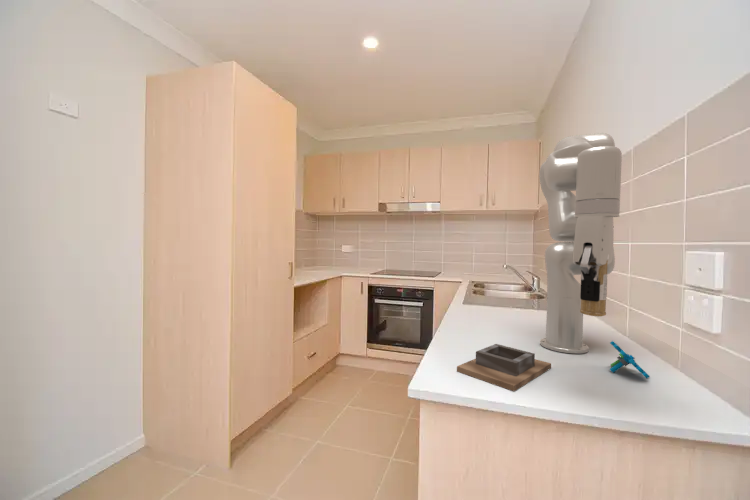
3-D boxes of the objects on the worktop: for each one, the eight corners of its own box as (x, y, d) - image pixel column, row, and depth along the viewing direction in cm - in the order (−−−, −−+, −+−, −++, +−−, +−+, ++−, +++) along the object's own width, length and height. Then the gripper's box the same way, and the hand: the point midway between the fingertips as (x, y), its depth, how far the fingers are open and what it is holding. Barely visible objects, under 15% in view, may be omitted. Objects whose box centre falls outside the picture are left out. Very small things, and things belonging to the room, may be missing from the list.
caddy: (497, 353, 92) (498, 338, 92) (550, 368, 82) (551, 351, 81) (456, 371, 79) (457, 353, 78) (514, 391, 68) (514, 371, 68)
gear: (657, 379, 72) (617, 341, 76) (633, 394, 73) (595, 356, 78) (646, 370, 81) (611, 336, 85) (625, 383, 83) (592, 350, 87)
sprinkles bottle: (576, 314, 68) (579, 249, 67) (584, 310, 71) (586, 248, 70) (603, 318, 64) (605, 250, 64) (609, 314, 67) (611, 249, 67)
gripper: (588, 213, 75) (585, 292, 76) (561, 208, 64) (558, 301, 65) (628, 211, 70) (625, 296, 70) (607, 206, 58) (603, 307, 59)
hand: (593, 298), depth 67 cm, fingers closed on sprinkles bottle, 4 cm apart
